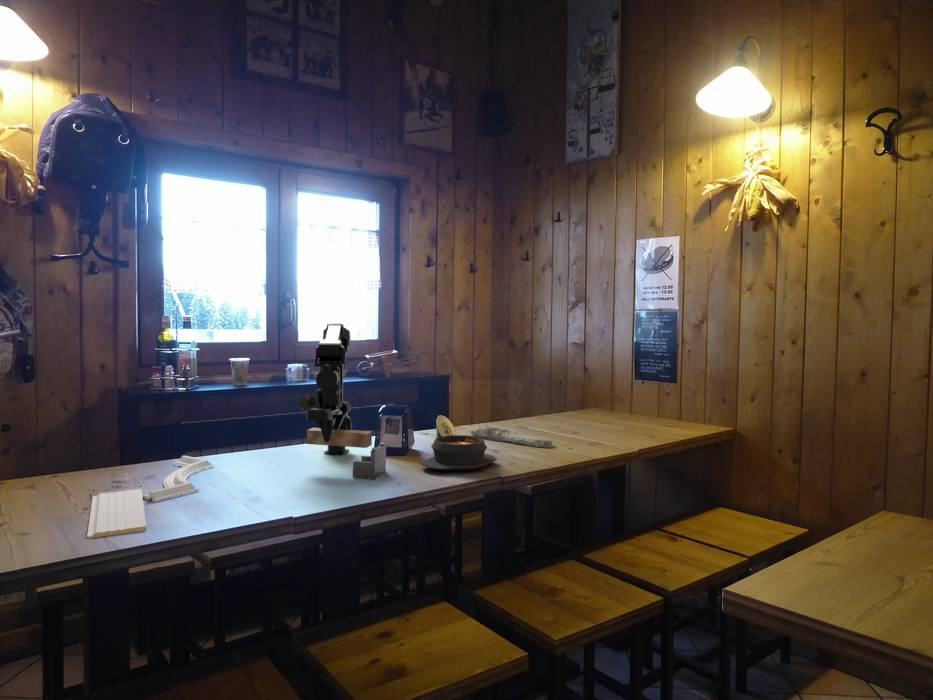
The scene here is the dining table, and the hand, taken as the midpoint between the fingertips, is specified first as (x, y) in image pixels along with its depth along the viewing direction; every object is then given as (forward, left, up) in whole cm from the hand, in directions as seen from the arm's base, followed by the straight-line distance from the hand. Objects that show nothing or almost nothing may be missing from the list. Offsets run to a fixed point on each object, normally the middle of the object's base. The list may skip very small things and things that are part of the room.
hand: (329, 440), depth 180 cm
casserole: (-16, +35, -10) cm, 39 cm away
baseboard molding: (+46, -32, -10) cm, 57 cm away
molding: (+18, -37, -10) cm, 42 cm away
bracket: (0, +12, -9) cm, 15 cm away
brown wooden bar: (0, +3, -1) cm, 3 cm away
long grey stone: (-60, +45, -10) cm, 76 cm away
